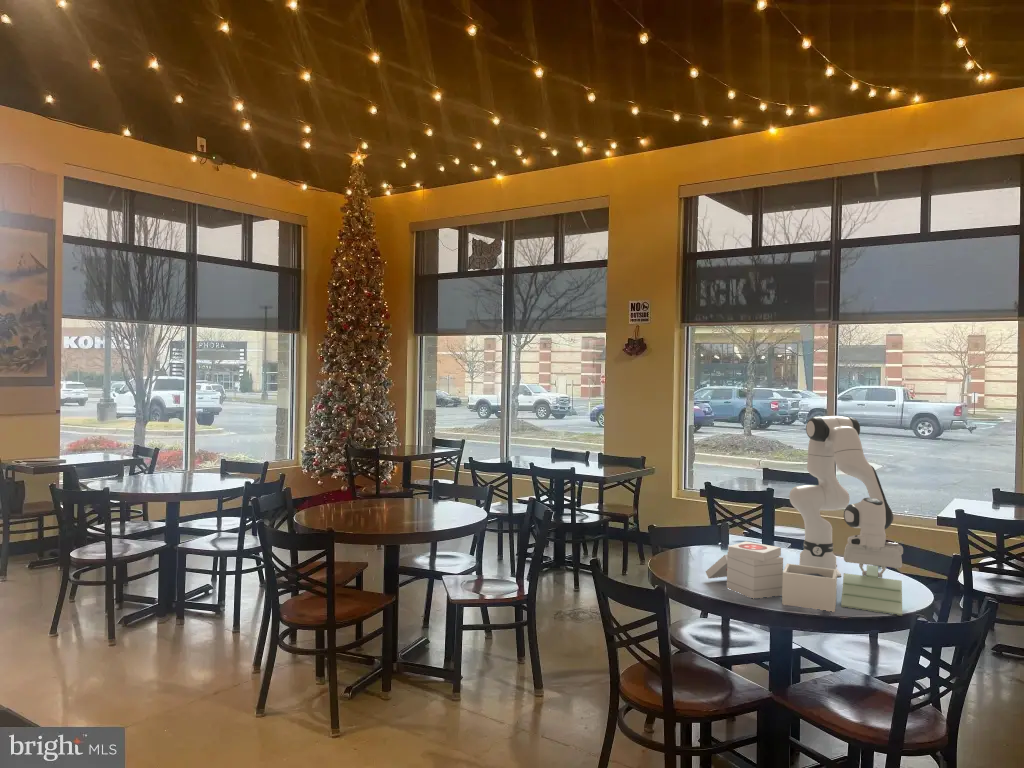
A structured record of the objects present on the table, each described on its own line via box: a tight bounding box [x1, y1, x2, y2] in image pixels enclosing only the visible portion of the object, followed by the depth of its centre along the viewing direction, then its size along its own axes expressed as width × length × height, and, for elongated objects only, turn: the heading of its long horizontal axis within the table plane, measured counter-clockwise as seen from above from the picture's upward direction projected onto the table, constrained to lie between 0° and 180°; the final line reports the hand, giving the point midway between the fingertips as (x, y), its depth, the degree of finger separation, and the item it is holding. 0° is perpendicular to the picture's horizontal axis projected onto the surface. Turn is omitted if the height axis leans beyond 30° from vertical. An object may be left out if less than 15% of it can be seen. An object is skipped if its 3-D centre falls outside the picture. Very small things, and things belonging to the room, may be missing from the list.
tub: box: [781, 563, 838, 613], centre depth 268 cm, size 16×18×12 cm
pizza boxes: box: [705, 541, 784, 600], centre depth 286 cm, size 19×30×18 cm, turn 24°
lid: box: [840, 564, 903, 617], centre depth 268 cm, size 24×20×4 cm
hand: (872, 576), depth 274 cm, fingers closed on lid, 4 cm apart
